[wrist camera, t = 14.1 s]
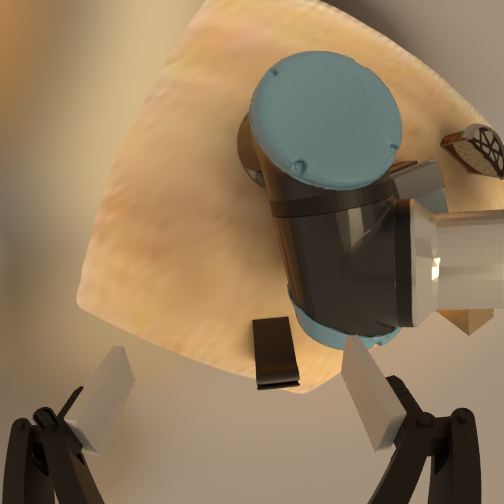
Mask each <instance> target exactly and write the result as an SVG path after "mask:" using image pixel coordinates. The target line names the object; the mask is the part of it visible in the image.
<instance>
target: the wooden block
mask: <svg viewBox="0 0 504 504" xmlns="http://www.w3.org/2000/svg"><path fill="white" fill-rule="evenodd" d="M493 310H494V308H489V309H465V310H436V311H437V312H438V313H440V314H441V315H442V316H444V317H445V318H446V319H448V320H449V321H450V322H452V323H453V324H454V325H455V326H457V327H458V328H459V329H461V330H462V331H463V332H464V333H466V334H467V335H468V336H469V335H471V334H472V333H473V332H475V331H476V330H477V329H479V328H480V327H481V326H482V325H484V324H485V323H486V322H487V321H489V320H490V319H491V318H492V317H493Z"/></svg>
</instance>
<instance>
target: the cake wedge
mask: <svg viewBox="0 0 504 504" xmlns="http://www.w3.org/2000/svg"><path fill="white" fill-rule="evenodd" d="M440 146H441V147H442V148H443V149H444V150H445V151H446V152H448V153H449V154H450V155H451V156H452V157H453V158H454V159H455V160H456V161H457V162H458V163H459V164H460V165H461V166H462V167H463V168H464V169H465V170H466V171H467V172H468V173H471V174H478V175H484V176H491V177H497V178H500V180H504V145H503V143H502V141H501V139H500V137H499V136H498V134H497V133H496V132H495V131H494V130H493V129H491V128H490V127H488V126H486V125H481V124H472V125H470V126H469V127H468V128H467V129H466V130H465V131H461V132H458V133H454V134H451V135H448V136H446V137H445V138H444V139H443V140H442V142H441V144H440Z"/></svg>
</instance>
